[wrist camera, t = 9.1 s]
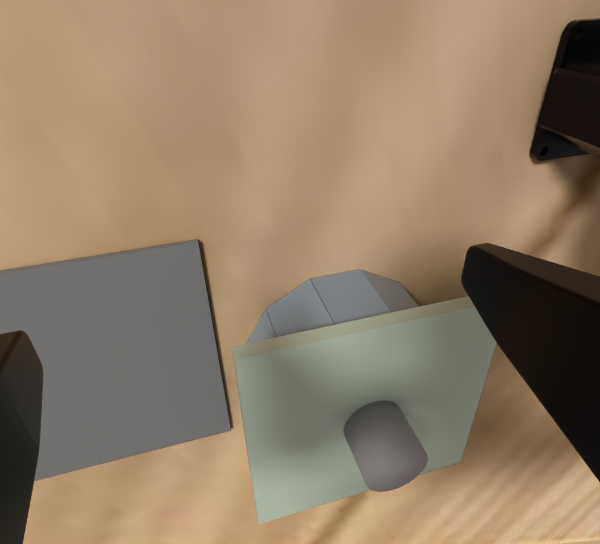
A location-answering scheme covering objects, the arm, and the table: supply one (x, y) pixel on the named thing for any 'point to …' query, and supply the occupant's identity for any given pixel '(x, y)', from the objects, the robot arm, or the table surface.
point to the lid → (360, 403)
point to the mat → (118, 353)
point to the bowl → (332, 303)
